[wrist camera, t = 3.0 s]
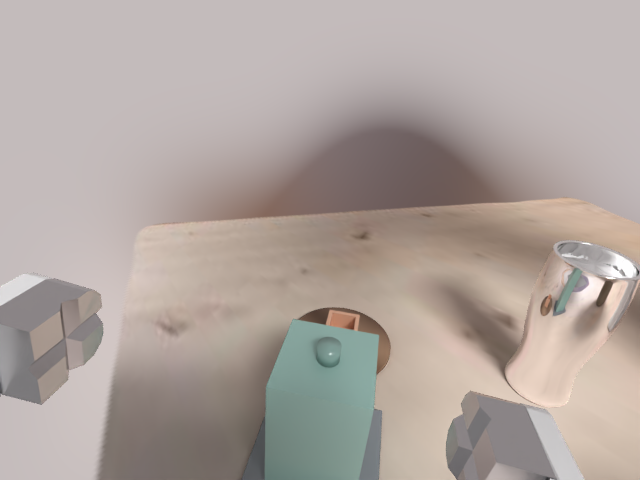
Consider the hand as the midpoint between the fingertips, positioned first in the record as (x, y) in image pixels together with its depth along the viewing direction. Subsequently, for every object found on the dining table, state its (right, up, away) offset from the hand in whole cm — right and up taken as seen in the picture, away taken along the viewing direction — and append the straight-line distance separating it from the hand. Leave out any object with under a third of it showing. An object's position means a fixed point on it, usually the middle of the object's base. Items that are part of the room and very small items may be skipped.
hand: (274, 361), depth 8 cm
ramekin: (+3, -8, +33) cm, 34 cm away
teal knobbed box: (+1, -14, +22) cm, 26 cm away
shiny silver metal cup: (+23, -12, +30) cm, 40 cm away
